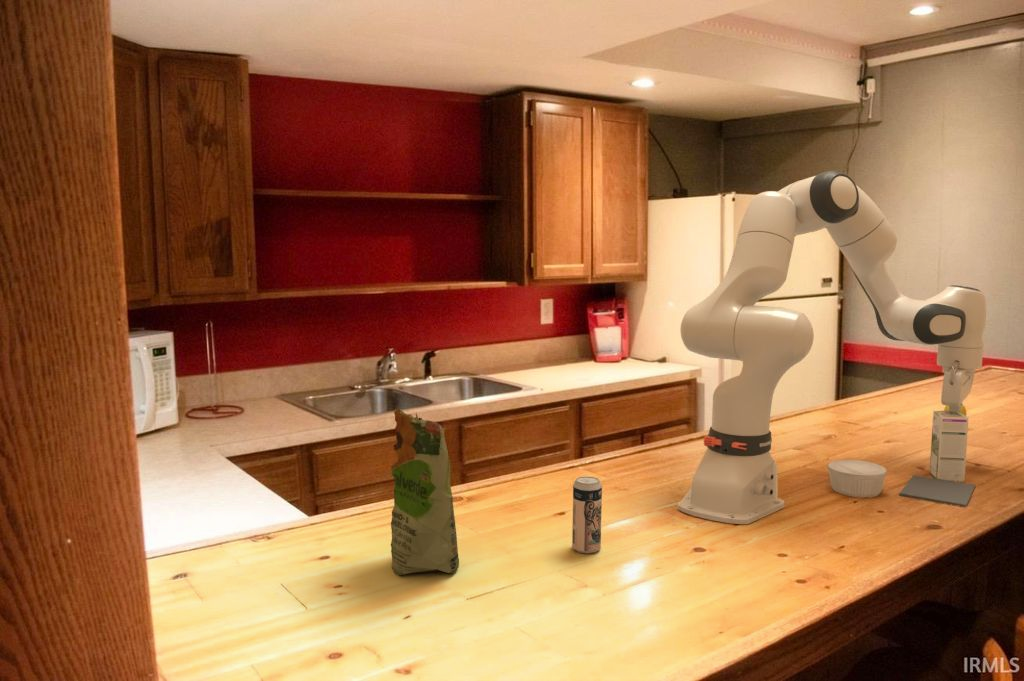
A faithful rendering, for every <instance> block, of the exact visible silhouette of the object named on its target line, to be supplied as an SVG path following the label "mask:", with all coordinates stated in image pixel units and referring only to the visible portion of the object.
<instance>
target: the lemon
mask: <svg viewBox="0 0 1024 681" xmlns="http://www.w3.org/2000/svg"><path fill="white" fill-rule="evenodd" d="M943 411H949V406H948V405H945V407H944V409H943ZM960 413H962V414H964V415H965V416H967V409H966V406H965V405H964V404H963V403H962V407H961V411H960Z"/></svg>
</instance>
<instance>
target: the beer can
mask: <svg viewBox="0 0 1024 681" xmlns="http://www.w3.org/2000/svg"><path fill="white" fill-rule="evenodd" d="M572 488H573V490H572V531H571V533H572V534H571V547H572V549H573V550H574V551H576V552H577V553H580V554H586V555H587V554H590V555H591V554H594V553H596V552H598V551H599V550H601V547H602V546H601V545H602V538H601V537H602V508H603V507H602V506H603V504H602V503H603V502H602V501H603V499H602V498H603V486H602V484H601V481H600V479H599V477H594V476H585V475H584V476H579V477H576V478H575V481H574V482H573V483H572Z"/></svg>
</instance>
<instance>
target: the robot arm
mask: <svg viewBox="0 0 1024 681" xmlns="http://www.w3.org/2000/svg"><path fill="white" fill-rule="evenodd" d="M824 229H826V230H827V232H828V234H829V235H830V238H831V239H832V240H833V242H834V243H835V245H836V246H837V247H838V249H839V250H840V252H841V253H842V255H843V256H844V257H845V259H846V260H847V262H848V264H849V267H850V270H851V272H852V273H853V275H854V277H855V278H856V280H857V281H858V284H859V285H860V287H861V289H862V291H863V292H864V294H865V295H866V297H867V299H868V301H869V302H870V304H871V306H872V308H873V310H874V314H875V319H876V324H877V326H878V329H879V331H880V332H881V333H882V335H883V336H885V337H886V338H887V339H890V340H891V341H900V342H910V343H914V344H921V345H925V346H933V345H937V356H936V365H937V366H939V367H942V369H941V370H942V371H941V372H942V373H943V374H944V375H943V379H942V386H941V387H942V388H941V396H940V397H941V398H940V401H941V405H943V406H946V405H948V406H949V411H956V412H960V411H961V407H962V404H963V402H964V401H965V399H966V398H967V397H968V395H970V393H971V390H972V387H973V382H974V378H975V373H976V370H978V369H982V367H983V355H984V354H983V353H984V341H983V335H984V334H983V333H984V331H985V329H986V321H987V319H986V318H987V303H986V297H985V294H984V293H983V291H982V290H980V289H977V288H975V287H971V286H970V287H968V286H962V285H948V286H946V287H945V289H944V290H942V291H941V292H940V293H938V294H936V295H934V296H932V297H930V298H925V299H922V300H921V299H913V298H910V297H908V296H906V295H904V294H903V293H901V292H900V291H899V290H898V288H897V286H896V285H895V282H894V281H893V279H892V277H891V275H890V274H889V272H888V271H887V269H886V267H885V263H886V261H888V260H889V259H890V257H891V256H892V255H893V253H894V252H895V250H896V248H897V241H898V240H897V236H896V234H895V231H894V227H892V225H891V223H890V221H889V220H888V219H887V218H886V216H885V214H884V213H883V212H882V210H881V209H880V208H879V207H878V205H877V204H876V203H875V201H874V200H873V199H872V198H871V197H870V196H869V195H868V194H867V193H866V192H865V191H864V190H863V189H862V188H860V187H859V186H858V185H857V184H856V182H854V180H853V179H852V178H851V177H850V176H849V175H848V174H846V173H844V172H842V171H839V170H829V171H822V172H820V173H818V174H817V175H813V176H811V177H806V178H804V179H801V180H797V181H795V182H793V183H790V184H787V186H784V187H783V188H781V189H780V190H776V191H775V190H774V191H773V190H770V191H769V190H768V191H763V192H759V193H758V194H756V195H755V196H753V198H752V199H751V200H750V202H749V203H748V205H747V208H746V209H745V212H744V214H743V217H742V220H741V223H740V225H739V229H738V232H737V237H736V241H735V245H734V250H733V251H732V253H733V254H732V255H731V260H730V263H729V266H728V268H727V271H726V273H725V275H724V277H723V279H722V280H721V281H720V284H718V286H717V287H716V288H715V290H713V292H711V293H710V295H708V296H707V297H706V298H705V299H703V300H702V301H699V302H698V303H697V304H695V305H693V306H691V307H689V309H687V311H686V313H685V314H684V316H683V317H682V320H681V323H680V338H681V340H682V343H683V345H684V346H685V348H686V349H687V350H688V351H689V352H691V353H694V354H697V355H700V356H704V357H708V358H712V359H723V360H730V361H731V360H732V361H733V360H734V361H741V362H742V368H741V371H740V373H739V375H736V376H733V377H731V378H729V379H726V380H725V381H722V382H721V383H720V384H719V385H717V387H716V388H715V389H714V392H713V394H712V408H711V410H712V414H711V426H710V427H709V432H708V433H707V434H706V435H705V436H704V438H703V445H704V446H705V447H706V450H705V451H704V454H703V455H702V458H701V460H700V462H699V464H698V466H697V468H696V470H695V473H694V475H693V478H692V481H691V482H692V483H691V487H690V489H689V490H688V491H687V492H686V494H685V495H684V497H683V498H682V499H681V501H680V502H679V504H678V506H677V509H678V511H680V512H682V513H684V514H687V515H690V516H693V517H696V518H701V519H705V520H708V521H714V522H722V523H724V524H725V523H727V524H737V525H747V524H751V523H753V522H755V521H757V520H759V519H762V518H764V517H766V516H769V515H771V514H773V513H775V512H777V511H780V510H782V509H785V507H786V503H785V501H784V500H783V499H781V498H780V497H778V496H779V494H778V493H779V490H778V489H779V488H778V482H779V481H778V479H779V478H778V476H779V475H778V473H779V472H778V463H777V462H776V461H775V459H774V458H773V456H772V454H771V453H770V450H772V442H773V441H772V432H771V430H770V427H771V426H770V425H771V424H770V423H771V412H772V411H771V410H772V404H773V397H774V393H775V389H776V388H777V386H778V384H779V382H780V380H781V378H782V377H783V376H784V375H785V373H787V371H789V370H790V369H791V368H792V367H793V366H795V365H796V364H798V363H800V362H801V361H802V360H804V359H805V358H806V357H807V355H808V354H809V353H810V351H811V349H812V347H813V344H814V338H815V337H814V336H815V335H814V329H813V326H812V323H811V321H810V319H809V318H808V317H807V315H806V314H805V313H803V312H800V311H797V310H795V309H794V310H793V309H790V308H789V309H788V308H785V307H781V306H769V305H767V306H766V305H756V303H757V302H759V301H760V300H762V299H763V298H764V297H767V296H769V295H771V294H774V293H776V292H777V291H778V290H780V289H781V287H783V285H784V284H785V282H786V281H787V277H788V274H789V273H788V272H789V268H790V262H791V258H792V253H793V248H794V244H795V243H794V242H795V237H797V236H800V235H801V236H802V235H806V234H809V233H814V232H817V231H820V230H824Z"/></svg>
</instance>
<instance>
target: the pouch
mask: <svg viewBox="0 0 1024 681" xmlns="http://www.w3.org/2000/svg"><path fill="white" fill-rule="evenodd" d="M393 414H394V421H395V422H396V425H395V427H394V430H395V438H396V443H395V444H393V446H392V447H393V451H394V452H395V453H396V454H397V461H394V462H393V463H391V466H390V468H391V469H390V470H391V473H390V474H391V476H392V477H393V479H394V486H393V487H394V488H393V497H394V500H393V501H394V502H393V507H392V508H393V509H392V510H391V522H390V527H391V529H390V530H391V541H390V547H391V550H390V552H391V569H392V571H393V572H394V573H396V574H397V575H398V576H402V575H409V574H412V573H414V574H415V573H428V572H430V573H431V572H442V573H446V574H447V573H448V574H454V573H455V572H456V571H457V570H458V568H459V566H460V559H459V551H458V537H457V528H456V518H455V509H454V502H453V501H454V496H453V494H452V486H451V471H452V470H451V461H450V457H449V451H448V447H447V446H448V445H447V442H446V438H445V430H444V429H443V426H442V424H440V423H438V422H436V421H434V420H429V419H426V420H425V419H423V418H422V417H418V414H417V413H415V417H414V416H413V415H412V414H411V413H410V414H408V413H406V412H404V411H403V410H402V409H401V408H400V407H397V408H395V409H394V411H393Z"/></svg>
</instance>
